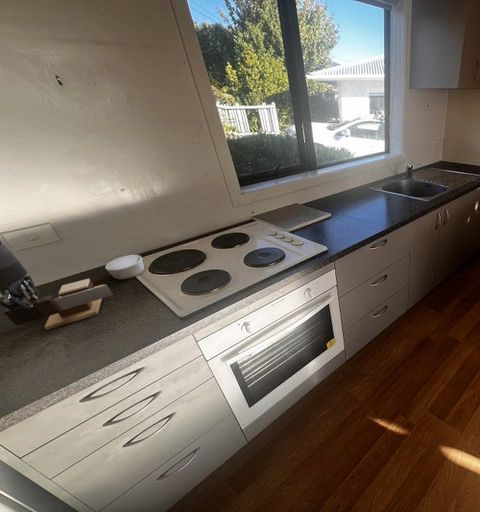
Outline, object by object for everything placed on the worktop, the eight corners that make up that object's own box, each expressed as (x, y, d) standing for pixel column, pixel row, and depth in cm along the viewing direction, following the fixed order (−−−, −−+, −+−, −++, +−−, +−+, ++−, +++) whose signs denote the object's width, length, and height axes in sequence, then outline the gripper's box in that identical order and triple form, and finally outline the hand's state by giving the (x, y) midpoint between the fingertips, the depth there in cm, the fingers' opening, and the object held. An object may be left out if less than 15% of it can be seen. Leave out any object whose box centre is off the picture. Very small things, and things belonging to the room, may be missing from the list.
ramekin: (141, 277, 111) (135, 266, 108) (106, 284, 108) (99, 272, 105) (150, 263, 120) (145, 252, 117) (118, 268, 117) (112, 257, 114)
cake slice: (61, 318, 90) (52, 306, 88) (64, 312, 93) (54, 300, 90) (91, 309, 94) (82, 297, 91) (92, 304, 96) (84, 292, 93)
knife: (16, 325, 79) (3, 312, 77) (19, 320, 81) (6, 307, 79) (112, 297, 89) (104, 284, 87) (113, 292, 91) (105, 280, 89)
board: (46, 329, 88) (44, 327, 87) (61, 299, 101) (59, 296, 100) (97, 314, 93) (95, 311, 93) (105, 286, 106) (103, 284, 106)
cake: (67, 305, 96) (58, 293, 93) (70, 297, 100) (62, 285, 97) (94, 297, 99) (86, 285, 96) (96, 289, 103) (89, 278, 100)
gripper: (-16, 257, 76) (27, 307, 85) (-42, 282, 66) (10, 336, 75) (24, 249, 80) (62, 297, 89) (5, 272, 70) (49, 324, 79)
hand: (38, 315), depth 82 cm, fingers closed on knife, 2 cm apart
